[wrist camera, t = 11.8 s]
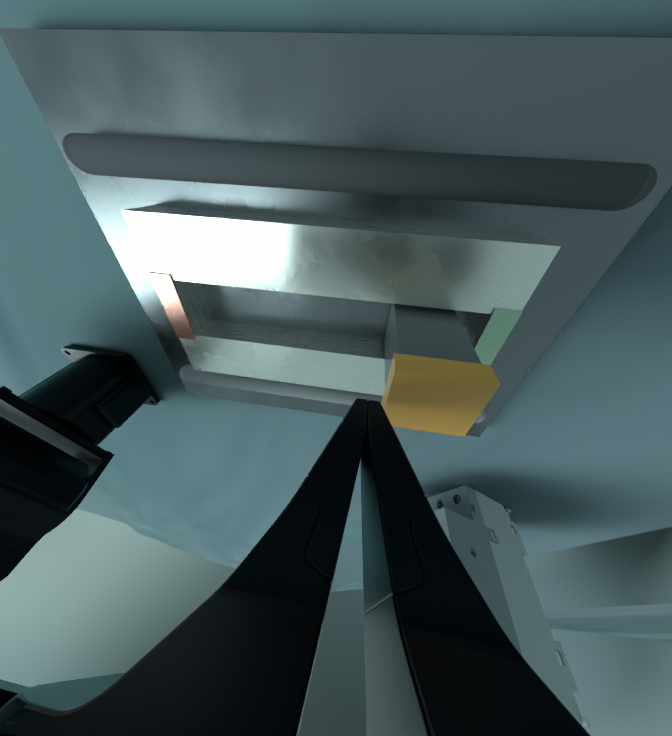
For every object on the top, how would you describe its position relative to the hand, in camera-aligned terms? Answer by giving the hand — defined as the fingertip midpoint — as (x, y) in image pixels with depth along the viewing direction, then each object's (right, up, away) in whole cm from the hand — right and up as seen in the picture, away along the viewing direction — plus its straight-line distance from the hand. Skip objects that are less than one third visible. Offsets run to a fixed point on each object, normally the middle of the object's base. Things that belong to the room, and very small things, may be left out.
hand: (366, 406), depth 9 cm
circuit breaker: (+12, -14, +21) cm, 28 cm away
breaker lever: (+3, +4, +5) cm, 8 cm away
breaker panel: (-1, +6, +7) cm, 9 cm away
